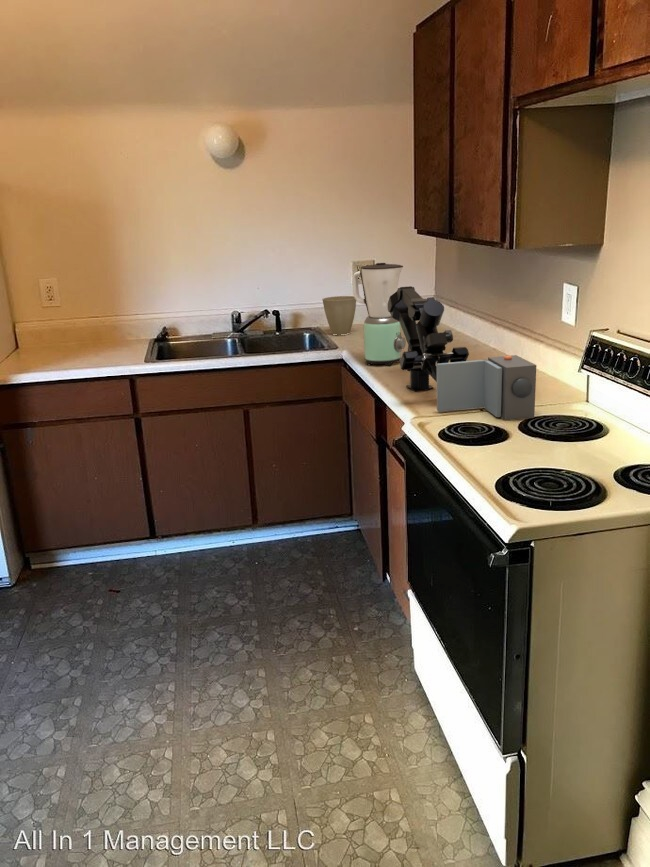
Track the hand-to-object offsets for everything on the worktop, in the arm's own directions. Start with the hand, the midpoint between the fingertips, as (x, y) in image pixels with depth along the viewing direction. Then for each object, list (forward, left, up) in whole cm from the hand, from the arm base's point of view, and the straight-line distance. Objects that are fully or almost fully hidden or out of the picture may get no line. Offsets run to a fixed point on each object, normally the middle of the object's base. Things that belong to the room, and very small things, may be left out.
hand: (440, 383), depth 198 cm
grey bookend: (+10, +3, -6) cm, 12 cm away
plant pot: (-123, +14, -7) cm, 124 cm away
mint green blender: (-61, +7, -7) cm, 62 cm away
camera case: (+14, +14, -7) cm, 21 cm away
